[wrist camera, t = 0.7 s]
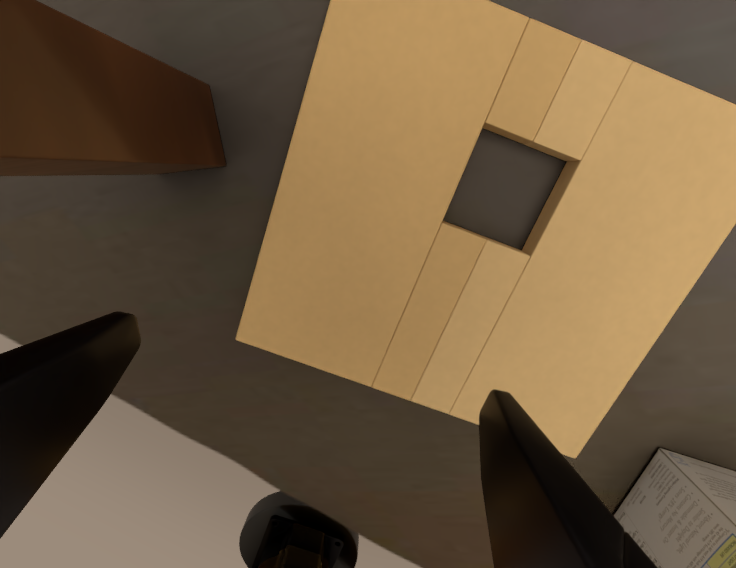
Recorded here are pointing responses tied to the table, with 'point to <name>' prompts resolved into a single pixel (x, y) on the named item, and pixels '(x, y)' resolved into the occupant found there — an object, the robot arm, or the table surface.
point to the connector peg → (94, 103)
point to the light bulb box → (683, 513)
